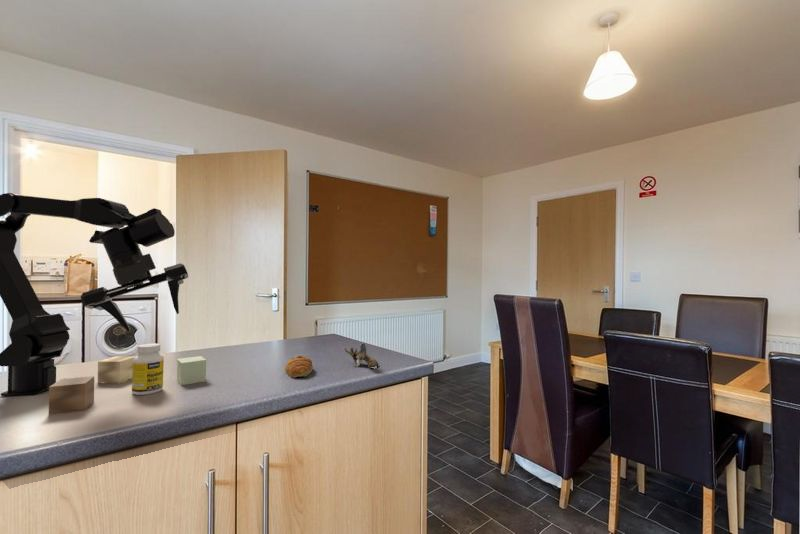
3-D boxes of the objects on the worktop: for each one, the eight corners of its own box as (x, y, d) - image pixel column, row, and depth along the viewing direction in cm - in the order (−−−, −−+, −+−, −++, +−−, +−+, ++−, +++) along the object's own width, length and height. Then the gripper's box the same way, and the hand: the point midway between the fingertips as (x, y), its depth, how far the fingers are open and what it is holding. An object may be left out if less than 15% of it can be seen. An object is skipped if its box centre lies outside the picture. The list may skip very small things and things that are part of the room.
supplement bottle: (147, 396, 74) (148, 348, 74) (125, 394, 75) (126, 346, 75) (169, 388, 79) (170, 343, 79) (148, 386, 80) (149, 342, 80)
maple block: (97, 383, 82) (97, 361, 83) (114, 377, 87) (115, 356, 88) (119, 383, 82) (120, 361, 83) (135, 377, 87) (136, 356, 88)
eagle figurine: (338, 362, 99) (361, 361, 93) (347, 338, 102) (369, 336, 97) (358, 373, 103) (381, 373, 97) (365, 349, 107) (387, 348, 101)
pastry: (314, 378, 88) (314, 362, 88) (285, 380, 86) (285, 364, 86) (311, 368, 97) (311, 354, 97) (284, 370, 95) (284, 355, 95)
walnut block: (48, 415, 64) (49, 386, 64) (60, 405, 69) (61, 379, 69) (84, 410, 66) (85, 383, 66) (93, 401, 71) (94, 376, 71)
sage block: (181, 385, 82) (181, 363, 82) (177, 380, 85) (177, 358, 85) (205, 381, 85) (206, 359, 85) (200, 376, 89) (201, 355, 89)
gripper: (57, 262, 67) (91, 340, 67) (171, 232, 76) (200, 301, 76) (75, 272, 76) (105, 341, 76) (174, 245, 86) (200, 306, 86)
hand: (154, 322), depth 78 cm, fingers open, 9 cm apart
